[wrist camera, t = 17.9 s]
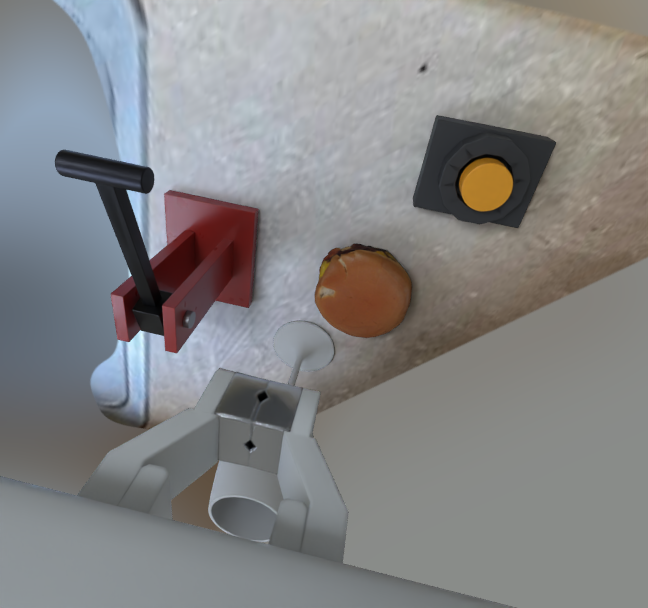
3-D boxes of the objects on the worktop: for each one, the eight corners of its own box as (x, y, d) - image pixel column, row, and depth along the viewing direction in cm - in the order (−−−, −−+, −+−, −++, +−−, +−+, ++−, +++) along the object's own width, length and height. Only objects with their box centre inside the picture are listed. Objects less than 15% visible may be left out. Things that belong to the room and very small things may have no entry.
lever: (71, 140, 23) (44, 163, 22) (155, 157, 23) (134, 182, 22) (138, 304, 35) (124, 327, 34) (194, 317, 35) (182, 340, 34)
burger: (410, 322, 44) (410, 349, 40) (324, 320, 46) (316, 346, 42) (412, 235, 39) (412, 256, 35) (315, 237, 41) (305, 257, 37)
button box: (436, 114, 33) (440, 122, 30) (548, 136, 33) (564, 147, 30) (412, 198, 37) (413, 213, 34) (512, 219, 37) (523, 236, 33)
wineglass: (275, 312, 46) (197, 476, 29) (341, 328, 46) (303, 504, 28) (268, 362, 50) (196, 533, 33) (329, 377, 50) (289, 557, 33)
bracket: (169, 189, 41) (77, 248, 29) (258, 208, 40) (200, 275, 29) (174, 285, 47) (99, 364, 35) (252, 302, 46) (201, 388, 35)
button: (468, 153, 31) (471, 158, 30) (516, 162, 31) (521, 168, 29) (452, 199, 33) (454, 206, 32) (497, 208, 33) (502, 216, 31)
